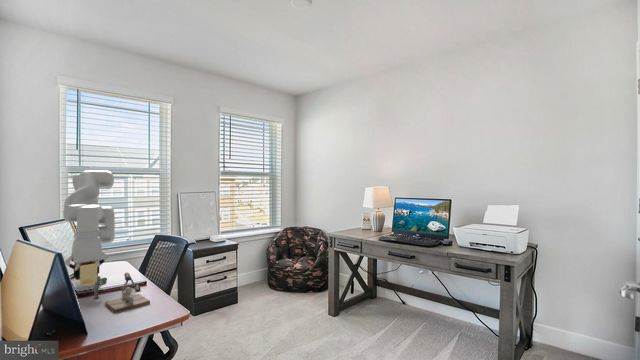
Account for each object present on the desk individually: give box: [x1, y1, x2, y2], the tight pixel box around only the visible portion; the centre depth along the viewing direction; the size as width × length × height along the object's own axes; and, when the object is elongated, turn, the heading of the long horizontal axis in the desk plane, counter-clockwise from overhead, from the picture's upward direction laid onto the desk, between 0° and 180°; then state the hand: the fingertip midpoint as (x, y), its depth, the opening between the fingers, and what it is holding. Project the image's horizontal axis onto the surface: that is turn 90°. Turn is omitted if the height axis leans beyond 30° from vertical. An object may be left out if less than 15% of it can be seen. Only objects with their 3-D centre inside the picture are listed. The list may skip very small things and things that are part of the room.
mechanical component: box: [91, 275, 108, 299], centre depth 151 cm, size 3×10×10 cm, turn 79°
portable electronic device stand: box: [121, 272, 141, 294], centre depth 162 cm, size 9×8×8 cm
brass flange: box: [76, 261, 97, 286], centre depth 134 cm, size 12×6×8 cm, turn 50°
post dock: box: [104, 287, 151, 314], centre depth 143 cm, size 13×14×8 cm
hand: (86, 276), depth 134 cm, fingers closed on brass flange, 5 cm apart
